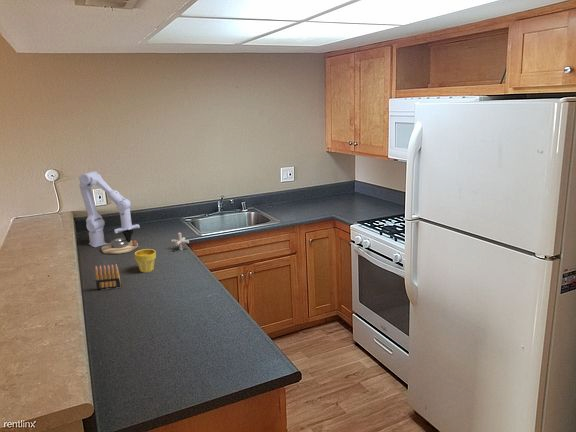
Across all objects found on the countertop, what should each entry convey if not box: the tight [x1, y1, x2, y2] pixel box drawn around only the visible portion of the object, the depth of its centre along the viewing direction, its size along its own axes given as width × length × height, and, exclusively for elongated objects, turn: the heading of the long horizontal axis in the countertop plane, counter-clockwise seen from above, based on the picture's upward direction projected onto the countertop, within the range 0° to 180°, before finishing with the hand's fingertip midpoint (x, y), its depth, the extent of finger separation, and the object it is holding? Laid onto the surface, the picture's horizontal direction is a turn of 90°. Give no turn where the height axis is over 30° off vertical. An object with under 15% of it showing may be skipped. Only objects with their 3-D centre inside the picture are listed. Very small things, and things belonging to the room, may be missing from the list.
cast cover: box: [110, 237, 128, 248], centre depth 264 cm, size 9×9×4 cm
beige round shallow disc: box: [100, 239, 139, 255], centre depth 264 cm, size 20×20×4 cm
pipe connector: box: [171, 232, 190, 251], centre depth 260 cm, size 10×10×10 cm
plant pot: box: [134, 248, 157, 273], centre depth 231 cm, size 10×10×10 cm
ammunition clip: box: [94, 263, 122, 290], centre depth 210 cm, size 11×2×12 cm, turn 101°
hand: (128, 241), depth 268 cm, fingers closed
